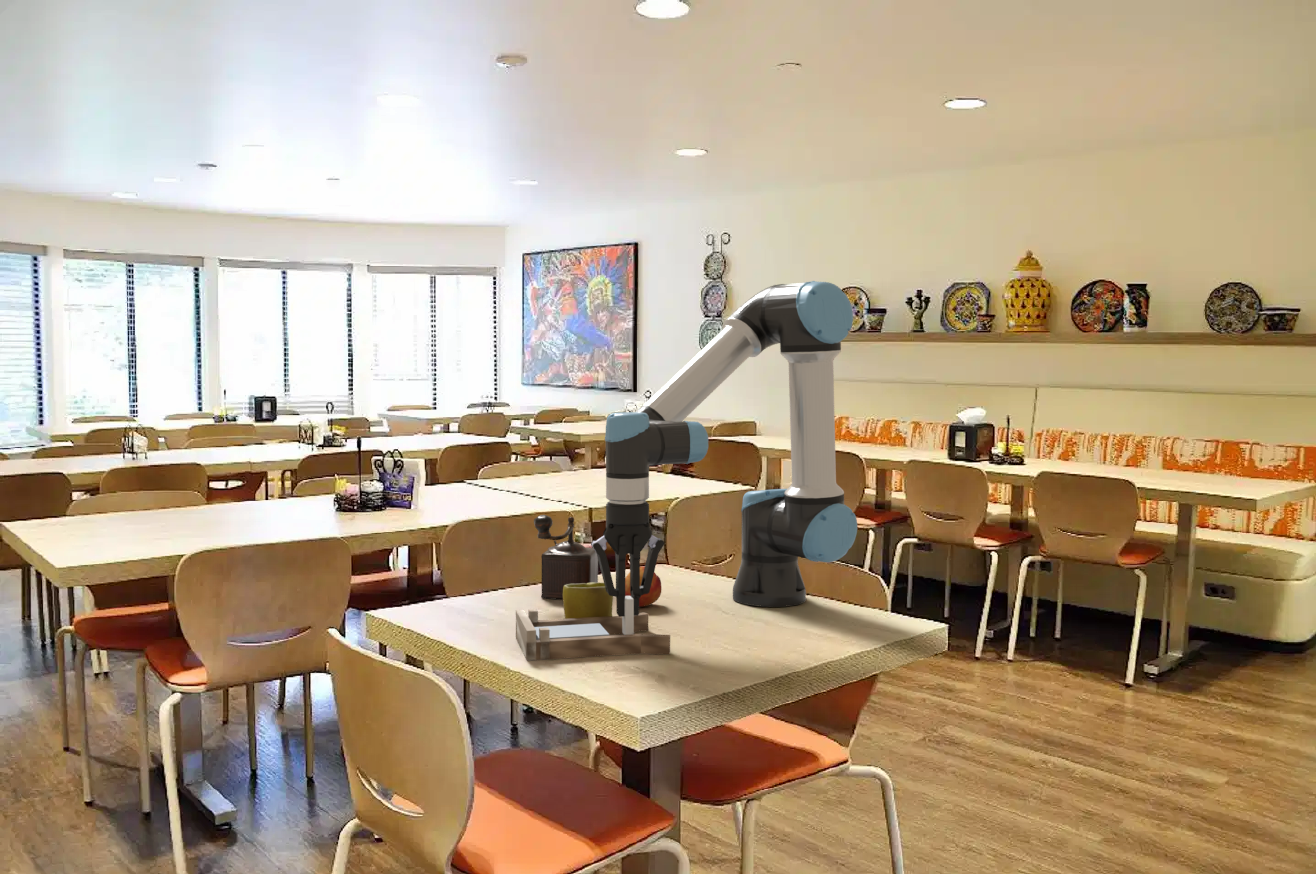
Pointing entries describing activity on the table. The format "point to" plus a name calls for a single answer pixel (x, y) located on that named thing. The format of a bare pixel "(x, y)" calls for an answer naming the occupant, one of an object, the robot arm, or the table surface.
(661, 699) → the table surface
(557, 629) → the pale blue block
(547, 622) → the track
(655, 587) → the fruit
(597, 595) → the mug
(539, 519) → the manual coffee grinder
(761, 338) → the robot arm
